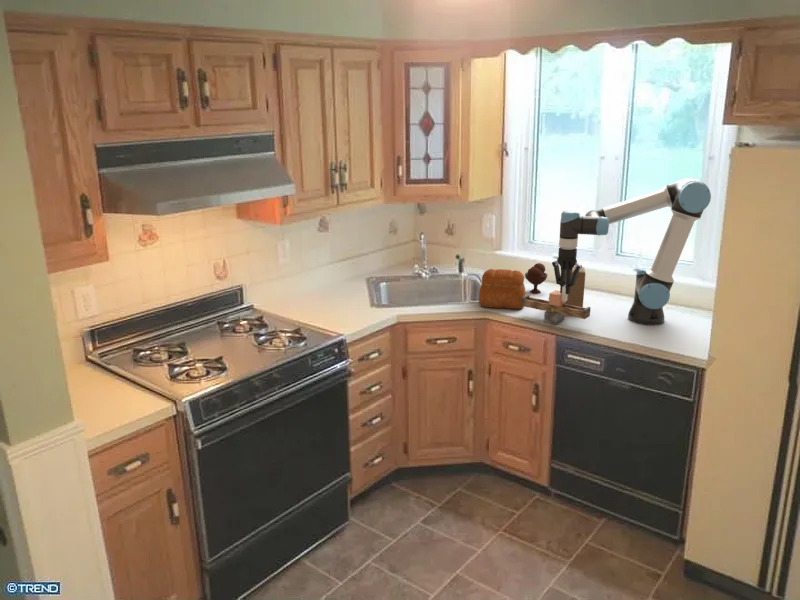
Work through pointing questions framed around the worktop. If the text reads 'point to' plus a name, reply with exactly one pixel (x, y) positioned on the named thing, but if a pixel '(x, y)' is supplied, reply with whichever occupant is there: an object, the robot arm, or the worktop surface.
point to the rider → (556, 298)
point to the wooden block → (577, 289)
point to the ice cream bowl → (536, 276)
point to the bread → (502, 289)
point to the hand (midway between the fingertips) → (564, 300)
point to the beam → (555, 310)
